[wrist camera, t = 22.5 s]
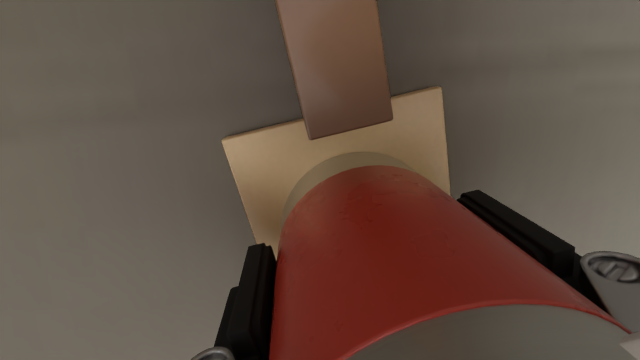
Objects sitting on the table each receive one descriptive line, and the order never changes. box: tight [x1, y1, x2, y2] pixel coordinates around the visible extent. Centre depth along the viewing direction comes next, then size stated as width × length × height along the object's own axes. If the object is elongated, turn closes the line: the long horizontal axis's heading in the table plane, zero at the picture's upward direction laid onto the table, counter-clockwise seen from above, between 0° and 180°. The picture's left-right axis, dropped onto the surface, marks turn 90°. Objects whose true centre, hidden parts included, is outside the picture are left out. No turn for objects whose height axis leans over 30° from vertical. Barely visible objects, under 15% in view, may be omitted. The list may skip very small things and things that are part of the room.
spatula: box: [222, 0, 451, 261], centre depth 10 cm, size 21×9×5 cm, turn 13°
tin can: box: [269, 152, 637, 360], centre depth 8 cm, size 7×7×11 cm
